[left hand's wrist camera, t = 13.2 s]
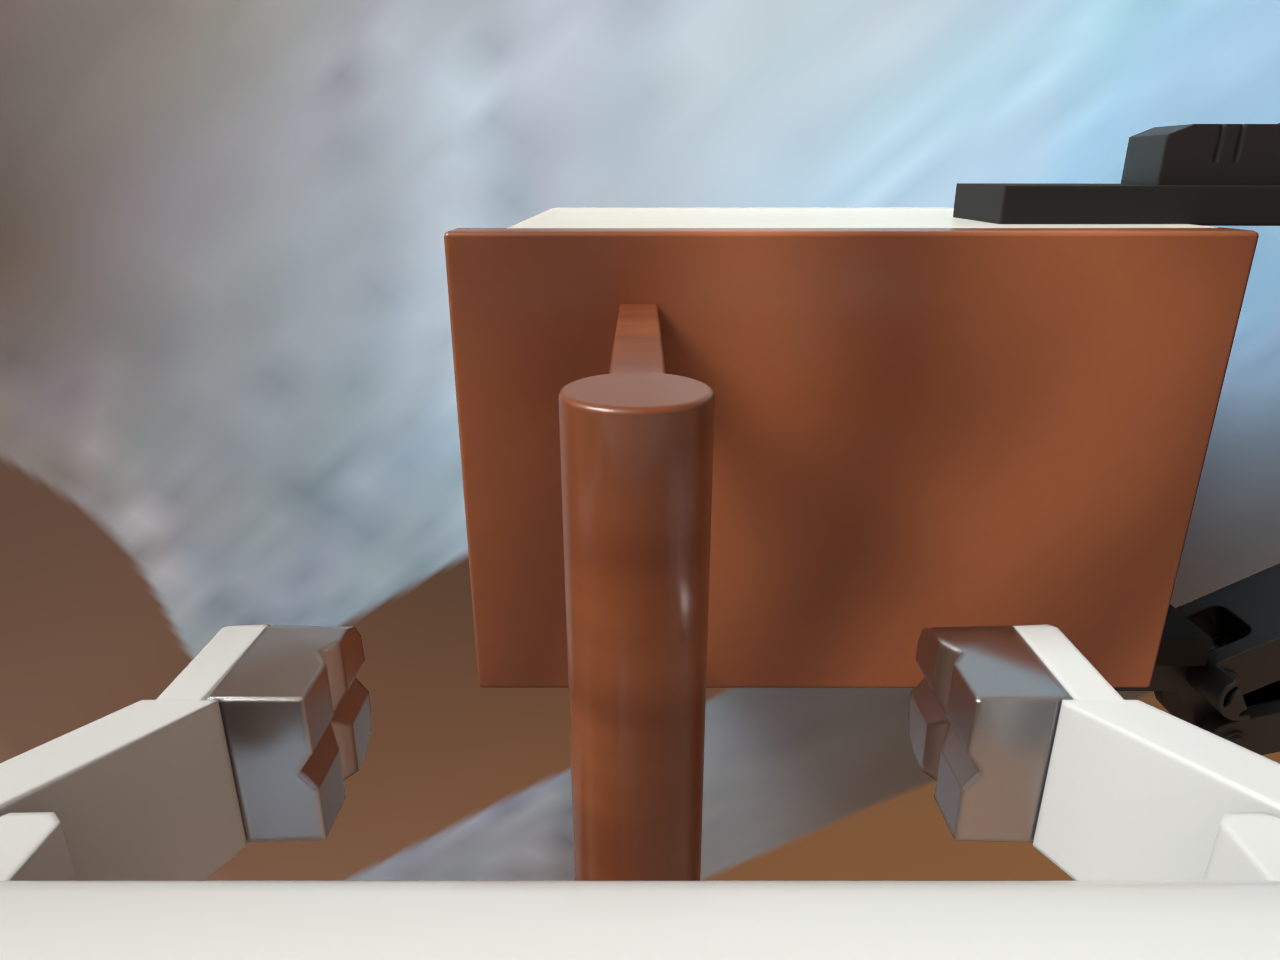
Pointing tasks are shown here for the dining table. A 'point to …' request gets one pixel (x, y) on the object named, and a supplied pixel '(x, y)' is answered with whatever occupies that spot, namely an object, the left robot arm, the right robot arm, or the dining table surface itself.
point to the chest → (780, 219)
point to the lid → (814, 467)
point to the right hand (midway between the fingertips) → (946, 432)
